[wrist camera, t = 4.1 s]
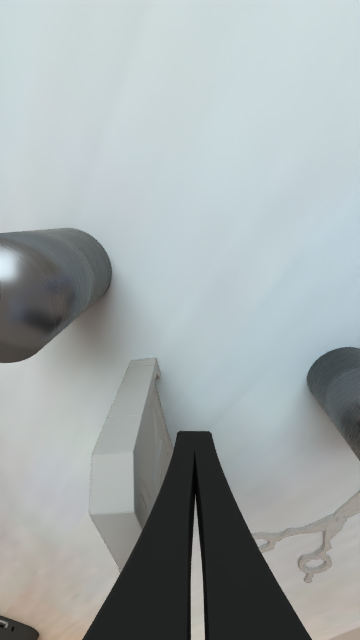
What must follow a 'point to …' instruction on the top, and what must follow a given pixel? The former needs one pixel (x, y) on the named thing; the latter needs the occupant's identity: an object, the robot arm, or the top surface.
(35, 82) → the top surface
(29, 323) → the post
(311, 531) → the scissors
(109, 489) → the light switch
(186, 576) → the robot arm
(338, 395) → the post
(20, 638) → the media streaming box
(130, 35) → the top surface
